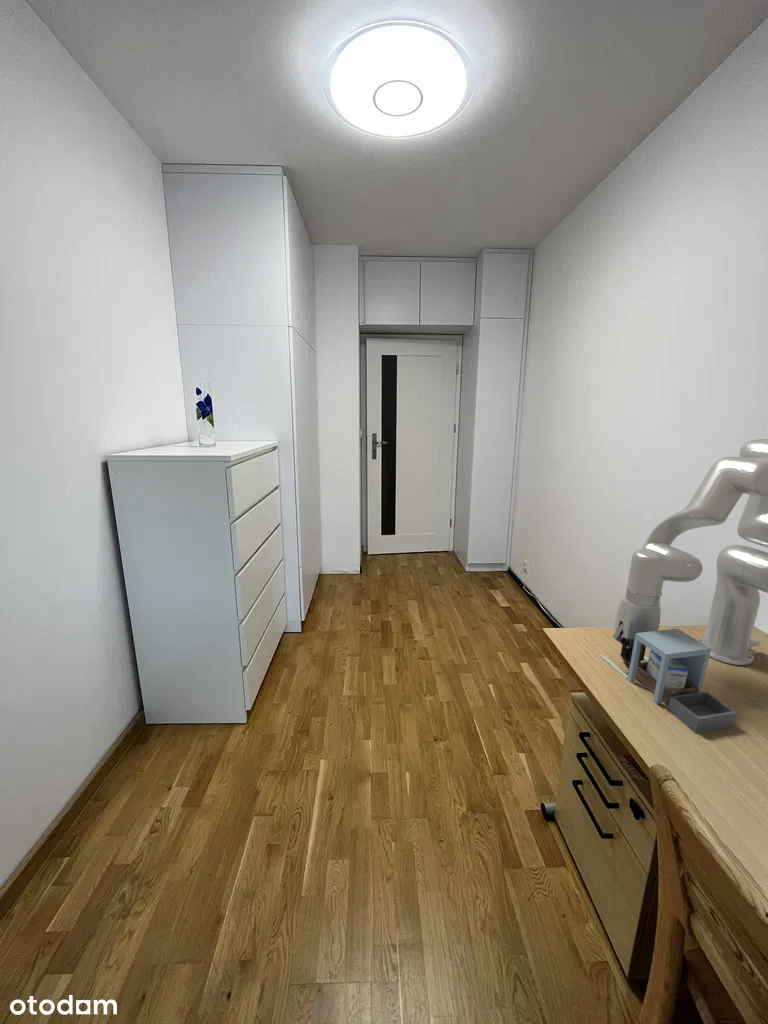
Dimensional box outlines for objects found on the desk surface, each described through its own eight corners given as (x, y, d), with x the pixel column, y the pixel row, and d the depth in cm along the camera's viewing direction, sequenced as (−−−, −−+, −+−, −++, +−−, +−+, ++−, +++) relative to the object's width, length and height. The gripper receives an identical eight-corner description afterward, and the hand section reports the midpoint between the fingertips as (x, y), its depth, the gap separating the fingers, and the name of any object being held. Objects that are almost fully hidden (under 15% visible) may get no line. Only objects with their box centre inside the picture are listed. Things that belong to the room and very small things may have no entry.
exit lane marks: (636, 651, 116) (636, 650, 116) (666, 673, 107) (666, 672, 106) (599, 655, 114) (599, 654, 114) (626, 678, 104) (626, 677, 104)
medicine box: (644, 678, 105) (649, 648, 102) (661, 678, 104) (667, 648, 102) (663, 699, 97) (669, 668, 95) (682, 699, 97) (689, 668, 95)
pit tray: (703, 704, 95) (706, 691, 95) (733, 726, 89) (737, 712, 88) (667, 709, 94) (670, 696, 93) (695, 732, 87) (698, 719, 86)
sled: (639, 657, 113) (644, 631, 111) (696, 699, 96) (702, 670, 94) (614, 660, 111) (618, 634, 109) (667, 704, 95) (673, 674, 93)
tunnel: (668, 674, 106) (677, 628, 103) (699, 697, 98) (711, 648, 94) (627, 679, 104) (635, 633, 101) (656, 704, 95) (666, 654, 92)
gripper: (657, 588, 111) (646, 647, 115) (604, 593, 108) (595, 653, 112) (682, 600, 103) (669, 663, 108) (626, 606, 101) (615, 670, 105)
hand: (631, 657), depth 110 cm, fingers closed on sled, 3 cm apart
